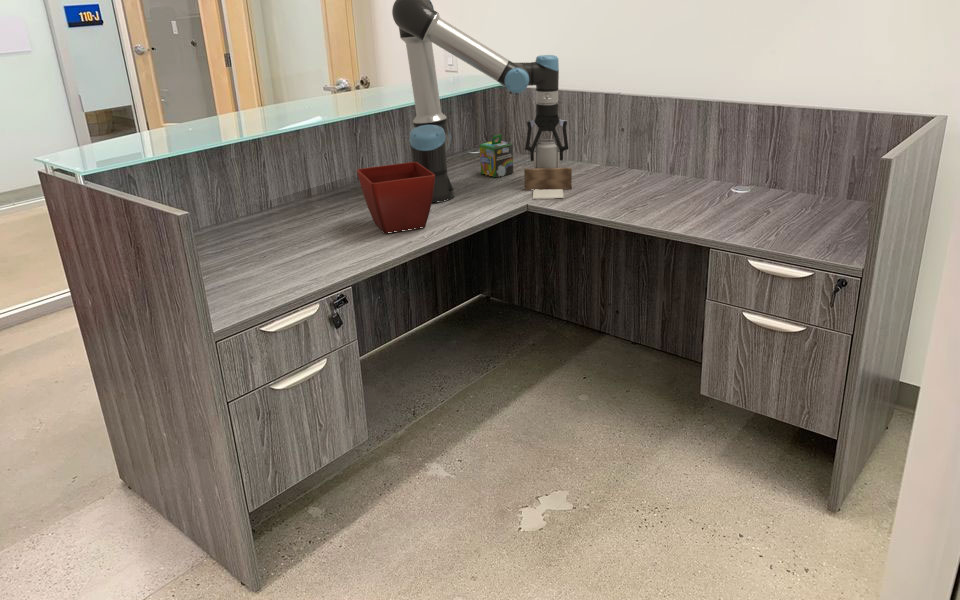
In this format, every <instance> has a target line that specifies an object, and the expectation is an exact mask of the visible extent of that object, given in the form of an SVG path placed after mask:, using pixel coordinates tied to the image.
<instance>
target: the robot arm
mask: <svg viewBox="0 0 960 600" xmlns="http://www.w3.org/2000/svg"><path fill="white" fill-rule="evenodd" d="M434 8H435V7H434V5H433V2H432V1H431V0H395V1H394V3H393V5H392V10H391V13H392V14H391V15H392V18H393V21H394V23H395V25H396V26H397V27H398V30H399V37H400V39H401V40H402V41H403V42H404V43H405V46H406V52H407V53H406V54H407V61H408V66H409V73H410V81H411V87H412V88H411V89H412V94H413V100H414V107H415V112H416V113H415V114H416V116H415V117H414V119H413V120H412V123H413V128H412V129H411V130H410V132H409V139H408V143H409V145H410V156H411V159H410V160H411V162H417V163H419V164H420V165H422V166H423V167H425V168H426V169H428V170H429V171H431V172H432V173H433V174H435V182H434V191H433V197H432V202H437V201H444V200H447V199H450V198H452V197H453V196H455V191H454V188H453V185H452V183H451V179H450V177H449V175H448V164H447V163H448V162H447V151H448V150H449V148H450V146H451V142H452V135H451V132H450V130H449V126H448V120H447V116H446V115H445V114H444V113H443V112H442V108H441V107H442V106H441V101H440V93H439V92H440V91H439V87H438V79H437V72H436V71H437V70H436V64H435V56H434V49H433V44H434V45H436V46H437V47H439V48H441V49H442V50H444V51H446V52H448V53H449V54H451V55H453V56H454V57H456V58H458V59H459V60H461V61H463V62H464V63H466V64H468V65H469V66H470V67H473V68H474V69H476V70H477V71H479V72H481V73H483V74H484V75H486V76H487V77H489V78H491V79H493V80H494V81H496V82H497V83H499V84H500V85H501V86H503V87H506V89H507V90H508V91H509V92H511V93H514V94H519V93H522V92H524V91H525V90H526V89H527V88H528V87H529V86H531V87H532V86H533V87H534V86H535V102H536V103H537V104H536V105H535V118H534V119H533V120H527V122H526V124H527V125H526V126H527V133H526V140H525V151H529V152H530V161H531V162H533V169H536V145H537V144H538V141H539V140H540V137H541V135H542V133H543V132H552V135H553V137H554V140H555V141H556V142H555V143H556V144H557V145H558V156H557V168H561V167H560V165H561V163H560V161H561V162H562V161H563V160H564V151H567V150H569V143H568V134H567V124H568V121H567V120H566V119H564V120H563V119H560V118H559V104H558V102H559V79H560V76H559V74H560V72H559V71H560V69H559V67H560V66H559V57H558V56H556V55H553V54H543V55H537V56H536V58H535V61H531V62H513V61H511V60H510V59H508V58H507V57H504V56H502V55H501V54H499V53H498V52H496V51H495V50H493V49H492V48H490V47H488V46H486V45H485V44H483V43H482V42H480V41H478V40H477V39H475V38H473V37H472V36H470V35H469V34H467V33H465V32H463V31H462V30H461V29H458V28H457V27H456V26H454V25H453V24H451V23H449V22H447V21H446V20H444V19H442V18H441V17H440V14H439V12H437V11H436V10H435V9H434ZM534 124H535V125H536V127H537V128H538V129H537V131H536V135H535V137H534V139H533V141H532V144H531V146H530V142H531V136H532V128H533V127H534ZM558 125H560V127H562V129H561V130H562V136H563V143H564V144H563V145H562V142H561V140H560V137H559V134H558V132H557V130H556V128H557V127H558ZM453 198H454V197H453ZM453 198H452V199H453ZM450 200H451V199H450ZM447 201H448V200H447ZM444 202H445V201H444Z"/></svg>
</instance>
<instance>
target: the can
mask: <svg viewBox="0 0 960 600" xmlns="http://www.w3.org/2000/svg"><path fill="white" fill-rule="evenodd" d="M558 150H559V148H558V145H557V142H556V140H555V139H550V138H543V139H539V140H538V142H537V144H536V147H535V151H536V169H537V168H557V156H558Z"/></svg>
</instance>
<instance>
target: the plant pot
mask: <svg viewBox="0 0 960 600" xmlns="http://www.w3.org/2000/svg"><path fill="white" fill-rule="evenodd" d="M356 173H357V177H358V181H359V184H360V187H361V192H362V194H363V197H364V201H365V203H366V206H367V208H368V211H369V213H370V216H371V218H372V220H373V222H375V223H374V224H375V225H376V226H377V227H378V228H379V230H380V231H381V230H382V231H383V232H384V233H388V232H394V231H402V230H408V229H414V228H420V227H425V228H426V226H427V222H428V219H429V216H430V212H431V207H432V204H433V203H432V197H433V191H434V182H435V174H433V173H432V172H431V171H429V170H428V169H426V168H425V167H423V166H422V165H420V164H419V163H417V162H412V161H409V162H405V163H396V164H395V163H394V164H387V165H380V166H372V167H370V166H369V167H365V168H363V167H362V168H357V169H356ZM383 232H382V233H383ZM384 233H383V234H384Z"/></svg>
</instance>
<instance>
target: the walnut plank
mask: <svg viewBox="0 0 960 600" xmlns="http://www.w3.org/2000/svg"><path fill="white" fill-rule="evenodd" d="M523 171H524V172H523V174H524V176H523V177H524V191H532V190H531V189H534V190H535V189H539V190H543V189H546V190H547V189H563V190H572V188H573V187H572V186H573V184H572V182H573V181H572V177H573V176H572V172H573V171H572V167H560V168H537V169H534V168H524V169H523ZM526 189H527V190H526Z"/></svg>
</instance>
